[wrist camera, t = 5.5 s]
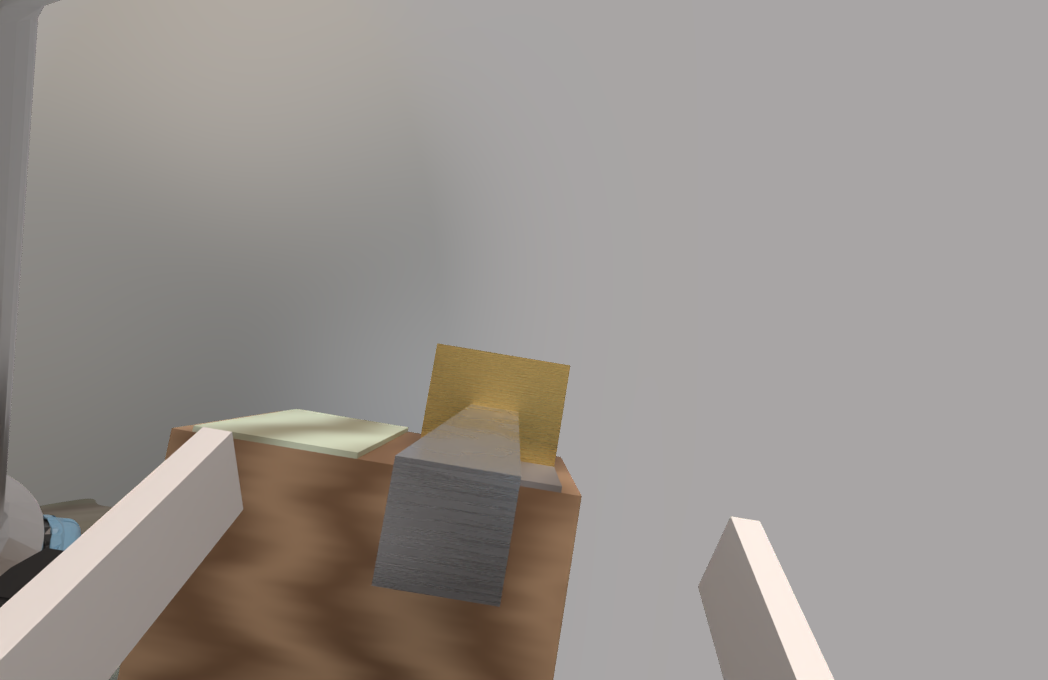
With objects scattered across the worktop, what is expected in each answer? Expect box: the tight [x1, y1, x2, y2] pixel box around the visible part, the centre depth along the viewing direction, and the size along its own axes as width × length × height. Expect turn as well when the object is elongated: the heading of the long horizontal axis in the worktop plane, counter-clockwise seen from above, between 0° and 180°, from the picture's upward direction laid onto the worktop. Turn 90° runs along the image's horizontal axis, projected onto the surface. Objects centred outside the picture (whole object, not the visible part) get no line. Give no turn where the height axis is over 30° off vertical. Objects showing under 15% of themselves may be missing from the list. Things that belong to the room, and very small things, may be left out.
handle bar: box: [372, 344, 570, 607], centre depth 23 cm, size 8×24×6 cm, turn 1°
